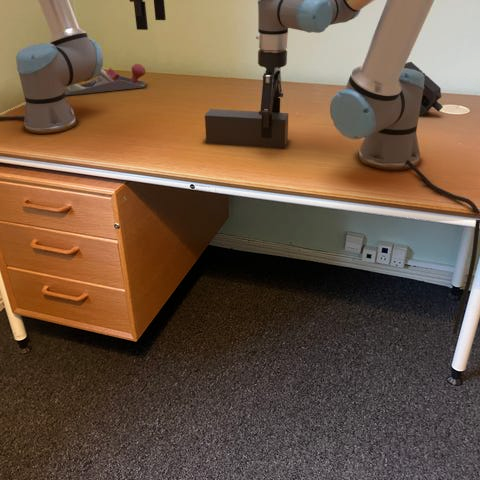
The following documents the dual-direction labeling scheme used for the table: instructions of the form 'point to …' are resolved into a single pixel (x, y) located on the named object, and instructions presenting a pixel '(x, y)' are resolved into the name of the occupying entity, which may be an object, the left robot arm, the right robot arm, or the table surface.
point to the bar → (244, 128)
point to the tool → (428, 92)
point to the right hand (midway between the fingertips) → (270, 128)
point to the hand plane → (109, 82)
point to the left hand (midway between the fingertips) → (151, 24)
